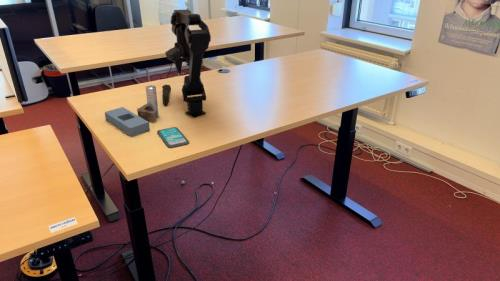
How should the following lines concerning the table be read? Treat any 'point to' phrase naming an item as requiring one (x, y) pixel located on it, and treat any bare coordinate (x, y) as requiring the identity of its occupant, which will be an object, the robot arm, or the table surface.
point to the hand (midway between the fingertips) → (185, 75)
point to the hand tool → (165, 94)
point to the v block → (146, 113)
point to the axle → (152, 99)
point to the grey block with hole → (127, 121)
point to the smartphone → (172, 137)
